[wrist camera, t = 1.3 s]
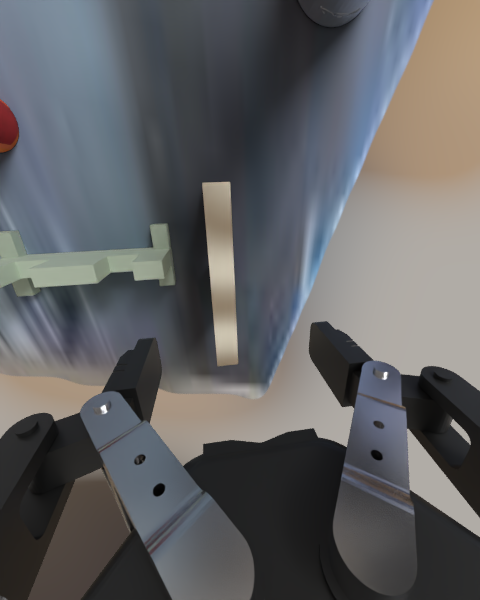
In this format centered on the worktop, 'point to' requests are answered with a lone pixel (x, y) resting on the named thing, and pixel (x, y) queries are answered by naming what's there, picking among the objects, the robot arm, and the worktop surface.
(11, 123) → the paper cup
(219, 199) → the beige flat panel
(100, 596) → the robot arm
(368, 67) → the worktop surface
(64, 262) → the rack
